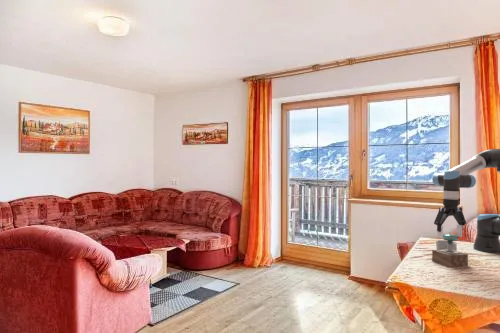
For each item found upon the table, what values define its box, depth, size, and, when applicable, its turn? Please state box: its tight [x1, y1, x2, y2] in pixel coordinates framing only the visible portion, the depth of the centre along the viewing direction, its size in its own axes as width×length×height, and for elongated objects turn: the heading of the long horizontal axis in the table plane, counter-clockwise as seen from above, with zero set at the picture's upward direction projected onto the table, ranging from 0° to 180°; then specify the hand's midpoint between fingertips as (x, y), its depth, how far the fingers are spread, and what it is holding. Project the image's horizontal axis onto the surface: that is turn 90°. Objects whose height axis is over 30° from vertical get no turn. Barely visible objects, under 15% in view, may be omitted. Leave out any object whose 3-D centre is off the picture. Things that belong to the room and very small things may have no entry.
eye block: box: [431, 249, 469, 268], centre depth 187 cm, size 12×12×6 cm
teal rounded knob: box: [442, 233, 459, 253], centre depth 187 cm, size 7×7×15 cm
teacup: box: [435, 239, 458, 251], centre depth 205 cm, size 14×11×8 cm
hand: (449, 237), depth 187 cm, fingers open, 13 cm apart
